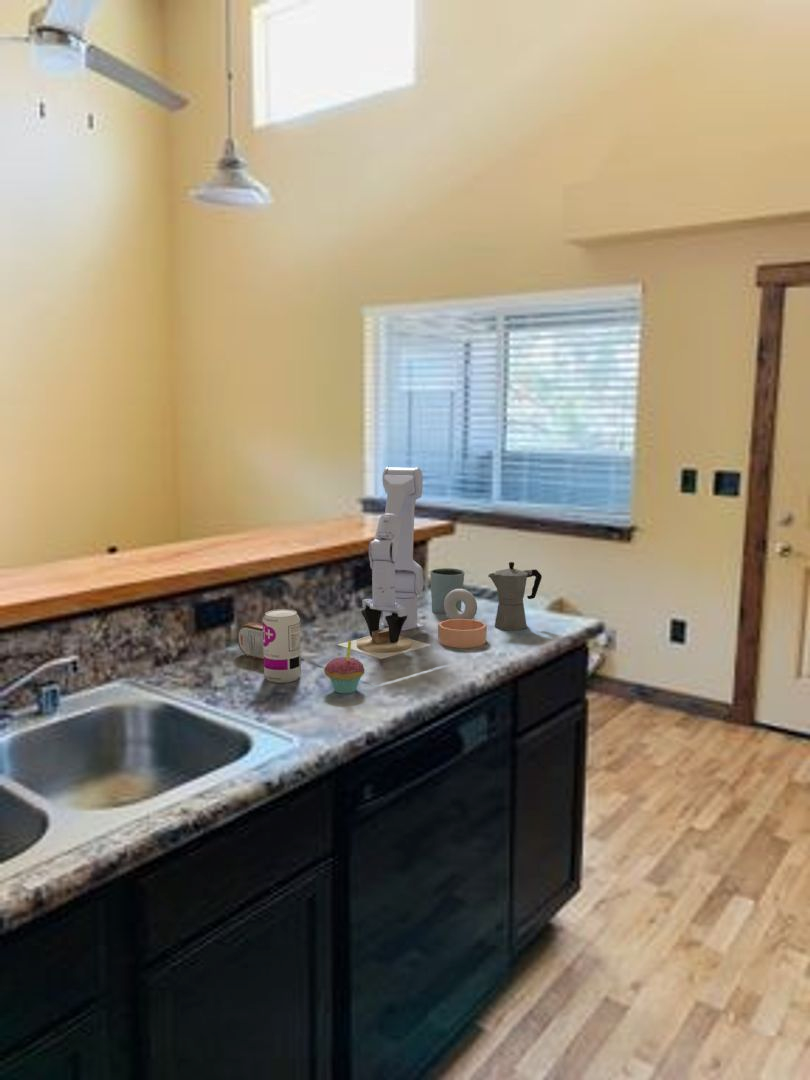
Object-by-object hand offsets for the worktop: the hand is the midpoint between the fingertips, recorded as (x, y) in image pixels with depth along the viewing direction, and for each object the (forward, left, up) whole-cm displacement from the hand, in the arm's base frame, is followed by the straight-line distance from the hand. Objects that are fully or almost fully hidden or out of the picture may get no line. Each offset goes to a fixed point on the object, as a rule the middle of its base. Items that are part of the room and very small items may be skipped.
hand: (384, 639), depth 217 cm
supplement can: (+3, -33, -2) cm, 33 cm away
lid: (0, 0, -1) cm, 1 cm away
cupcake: (+19, -28, -2) cm, 34 cm away
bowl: (+11, +17, -2) cm, 20 cm away
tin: (-13, -28, -2) cm, 31 cm away
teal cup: (-16, +39, -2) cm, 42 cm away
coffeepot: (+9, +40, -2) cm, 41 cm away
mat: (0, 0, -2) cm, 2 cm away
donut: (-3, +31, -2) cm, 31 cm away
